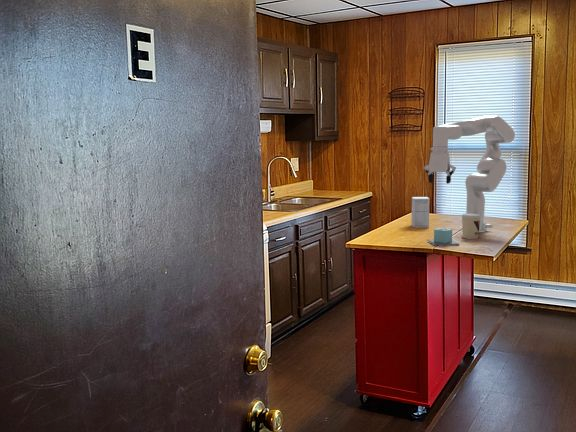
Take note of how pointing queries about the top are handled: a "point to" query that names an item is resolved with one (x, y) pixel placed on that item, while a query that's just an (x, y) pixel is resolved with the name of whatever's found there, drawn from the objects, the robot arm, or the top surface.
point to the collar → (442, 235)
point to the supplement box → (420, 212)
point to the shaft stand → (443, 243)
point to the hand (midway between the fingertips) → (439, 183)
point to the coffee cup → (470, 225)
